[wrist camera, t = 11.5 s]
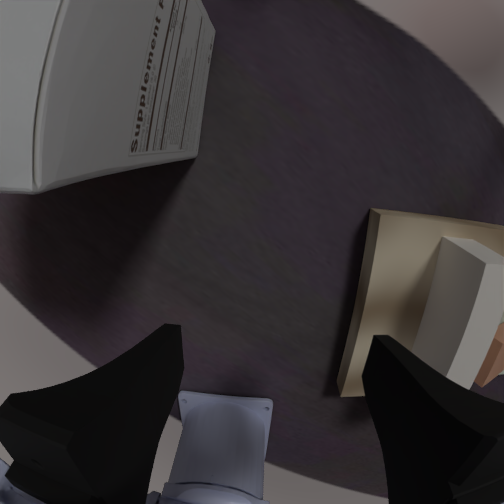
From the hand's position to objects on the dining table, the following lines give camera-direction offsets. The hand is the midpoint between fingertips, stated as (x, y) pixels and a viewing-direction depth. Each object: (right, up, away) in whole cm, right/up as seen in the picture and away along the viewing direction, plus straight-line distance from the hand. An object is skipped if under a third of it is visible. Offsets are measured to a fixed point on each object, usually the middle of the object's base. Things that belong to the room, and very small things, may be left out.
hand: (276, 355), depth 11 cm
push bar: (+12, -1, +8) cm, 15 cm away
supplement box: (-8, +14, +6) cm, 17 cm away
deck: (+12, 0, +10) cm, 16 cm away
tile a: (+20, -5, +10) cm, 23 cm away
